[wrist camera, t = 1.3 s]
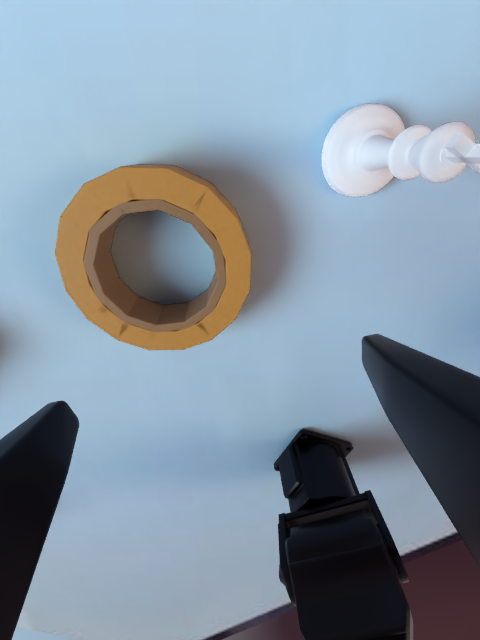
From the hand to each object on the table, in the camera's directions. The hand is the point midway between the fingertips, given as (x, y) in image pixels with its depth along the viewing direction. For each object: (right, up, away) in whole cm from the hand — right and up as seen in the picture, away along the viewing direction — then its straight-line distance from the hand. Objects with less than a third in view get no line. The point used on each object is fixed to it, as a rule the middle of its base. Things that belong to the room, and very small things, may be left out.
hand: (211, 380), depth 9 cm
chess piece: (+8, +12, +9) cm, 17 cm away
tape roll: (-4, +6, +12) cm, 14 cm away
